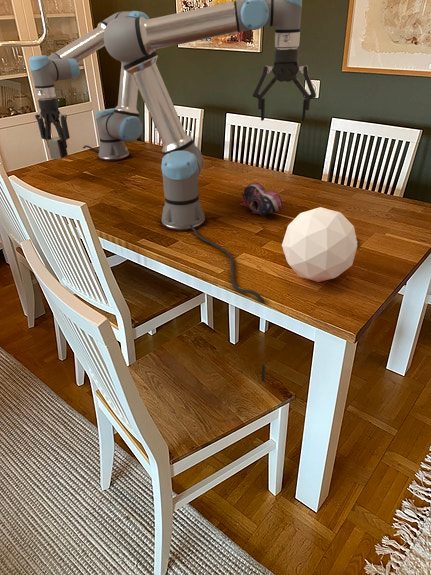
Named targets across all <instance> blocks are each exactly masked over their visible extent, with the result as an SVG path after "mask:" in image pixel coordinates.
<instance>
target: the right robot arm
mask: <svg viewBox="0 0 431 575" xmlns="http://www.w3.org/2000/svg"><path fill="white" fill-rule="evenodd" d="M302 8H303V0H232V1H228V2H224V3H220V4H218V3H217V4H214V5H209V6H205V7H200V8H195V9H191V10H185V11H181V12H177V13H172V14H171V13H170V14H167V15H163V16H158V17H153V18H149V19H148V20H146V19H145V18H143V17H134V16H126V17H120V18H116V19H113V20H112V21H110V22H109V24H108V25H107V26H106V28H105V31H104V44H105V46H104V47H105V49H106V51H107V53H108V54H109V55H110V56H111V57H112V58H113V59H114V60H116V61H117V62H118V61H119V62H120V63H121V64H122V65H123V67H124V70H125V71H126V72H128V73H130V74H131V75H132V76H133V78H134V80H135V82H136V85H137V87H138V92H139V93H140V96H141V98H142V100H143V102H144V104H145V106H146V109H147V111H148V114H149V116H150V117H151V120H152V122H153V124H154V128H155V129H156V131H157V133H158V135H159V138H160V141H161V142H162V145H163V146H162V149H161V153H162V155H163V157H162V158H161V166H160V168H161V173H162V174H161V176H162V184H163V194H164V204H163V207H162V213H161V219H160V220H161V225H162V227H163V228H165V229H167V230H170V231H175V232H176V231H177V232H185V231H186V232H187V231H192V232H193V233H194V235H195V236H196V237H197V238H198V239H200V240H201V241H203V242H205V243H207V244H209V245H211V246H213V247H215V248H216V249H218V250H220V251H221V252H222V253H224V254H226V255H227V257H228V258H229V260H230V271H231V278H230V279H231V284H232V286H233V288H234V289H235V290H236V291H238V292H240V293H245V294H250V295H252V296H255V297H256V298H257V299H258V300H259V302H260V303H261V304H264V303H265V300H264V298H263V297H262V295H261V294H259V293H258V292H257V291H255V290H252V289H246V288H241V287H240V286H238V285H237V283H236V272H235V260H234V258H233V255H232V254H231V253H230V252H229V251H228V250H227V249H225V248H223V247H221V246H220V245H219V244H217V243H215V242H213V241H211V240H209V239H207V238H204V237H203V236H201V235H200V234H199V232H198V231H197V229H198V228H201V227H202V226H203V225H204V224H205V223H206V217H205V212H204V210H203V208H202V204H201V202H200V196H199V178H200V174H201V172H202V169H203V166H204V158H203V154H202V152H201V149H200V148H198V147H197V145H196V143H195V141H194V139H193V137H192V136H190V135H188V134H187V133H186V131H185V129H184V127H183V124H182V121H181V119H180V117H179V114H178V112H177V109H176V108H175V104H174V103H173V101H172V98H171V96H170V94H169V91H168V89H167V87H166V84H165V82H164V79H163V77H162V74H161V72H160V69H159V67H158V65H157V60H158V58H159V55H158V54H157V51H156V50H159V49H163V48H164V49H165V48H169V47H173V46H177V45H183V44H187V43H192V42H197V41H203V40H207V39H212V38H218V37H223V36H227V35H232V34H236V33H242V32H247V31H257V30H260V29H262V28H264V27H266V28H267V27H274V28H275V29H274V47H275V49H274V51H273V66H269V65H267V64H266V65H264V66H263V68H262V69H263V70H262V74H261V77H260V79H259V81H258V83H257V85H256V87H255V90H254V91H253V94H252V97H253V98H255V99H257V101H258V102H257V109H258V110H260V121H264V120H265V116H266V115H265V114H266V98H264V96H265V95H266V94H267V93H268V92H269V90H270V89H271V88H272V87H273V85H275V83H276V82H277V81H278V82H281V83H283V82H287V83H289V82H293V83H294V84H295V86H296V87H297V88H298V90H299V91H300V94H302V96H303V97H304V98H303V101H302V102H303V103H302V117H301V122H305V121H306V111H309V110H310V105H311V100H312V99H315V98H316V97H317V92H316V90H315V87H314V85H313V83H312V80H311V76H310V75H309V66H308V65H307V64H305V65H302V66H299V57H300V56H299V53H300V50H299V47H300V39H301V25H302V24H301V22H302V10H303V9H302ZM299 71H300V73H301V74H302V75H303V77H304V80H305V83H306V85H307V87H308V90H309V92H308V91H307V89H306V88H305V87H304V85H303V84H302V82H301V80H300V79H299V78H298V76H297V74H298V73H299ZM271 72H272V73H273V75H274V77H273V78H272V79H271V80H270V81H269V83H268V84H267V85H266V86H265V88H264V89H263V90H262V92H260V91H261V89H262V87H263V84H264V82H265V81H266V79H267V76H268V74H270V73H271ZM309 93H310V94H309ZM265 379H266V365H264V364H261V382H262V383H264V382H265V381H266V380H265Z"/></svg>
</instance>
